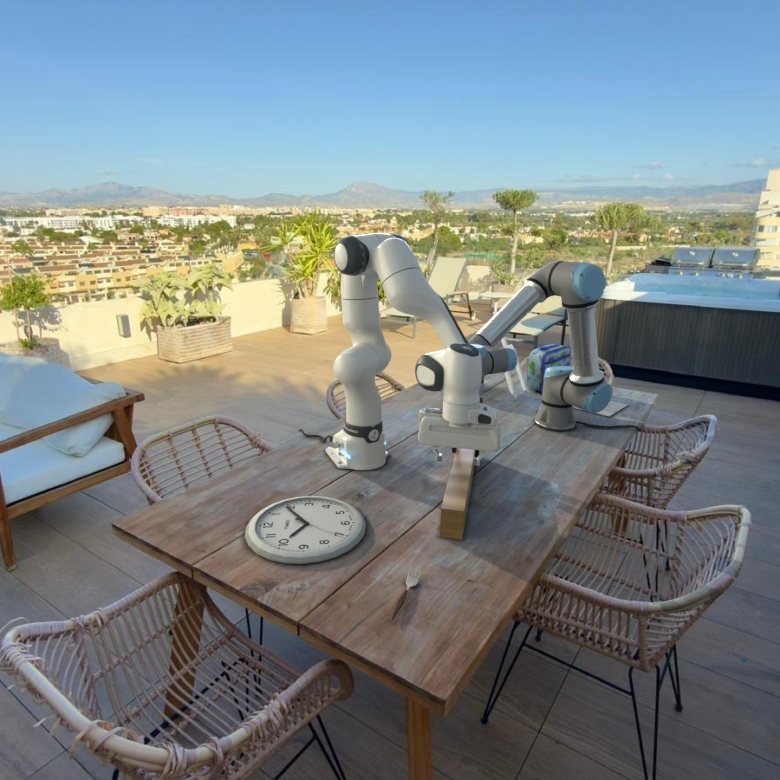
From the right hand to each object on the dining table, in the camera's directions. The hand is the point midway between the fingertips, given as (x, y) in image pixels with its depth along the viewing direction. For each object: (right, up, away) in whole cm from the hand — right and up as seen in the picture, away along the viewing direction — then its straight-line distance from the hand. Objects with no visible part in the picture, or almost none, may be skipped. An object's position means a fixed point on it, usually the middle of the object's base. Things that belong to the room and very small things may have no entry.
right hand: (466, 462), depth 169 cm
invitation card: (+67, +16, +57) cm, 90 cm away
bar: (-4, -6, -16) cm, 18 cm away
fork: (-22, -19, -61) cm, 67 cm away
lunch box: (+51, +24, +82) cm, 100 cm away
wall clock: (-46, -11, -37) cm, 60 cm away
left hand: (-8, +5, -38) cm, 39 cm away
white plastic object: (+17, +22, +74) cm, 80 cm away
